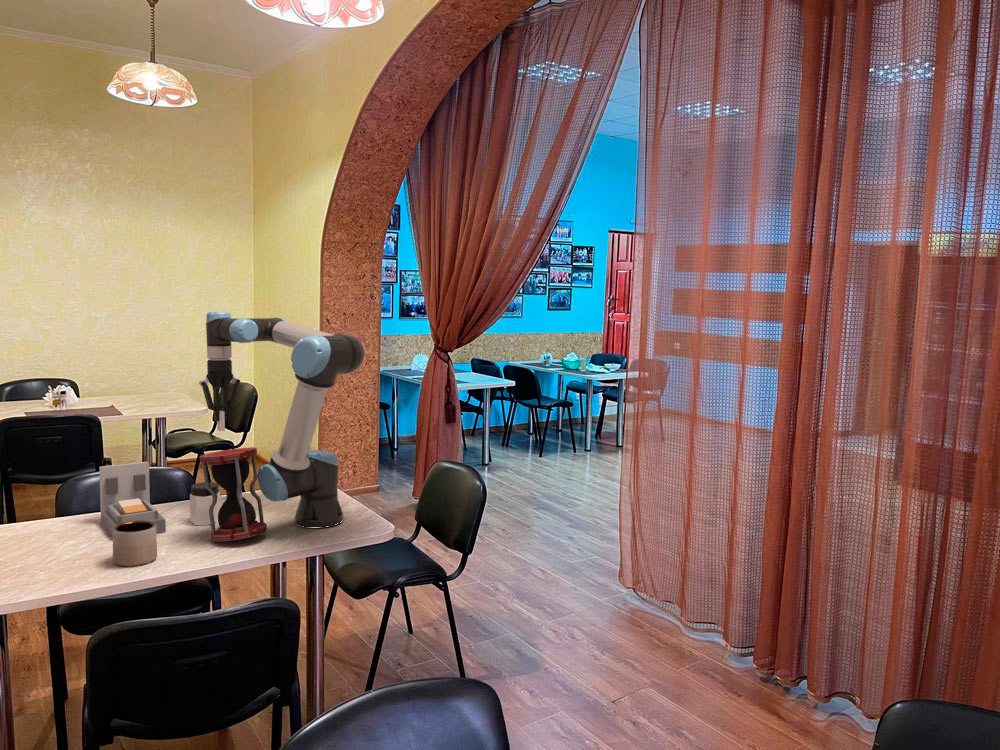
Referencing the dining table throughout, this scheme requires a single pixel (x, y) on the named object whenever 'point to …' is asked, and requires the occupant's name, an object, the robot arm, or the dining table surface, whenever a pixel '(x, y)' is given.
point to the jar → (203, 503)
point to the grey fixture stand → (126, 495)
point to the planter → (134, 543)
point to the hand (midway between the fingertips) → (221, 430)
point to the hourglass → (233, 494)
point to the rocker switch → (131, 506)
